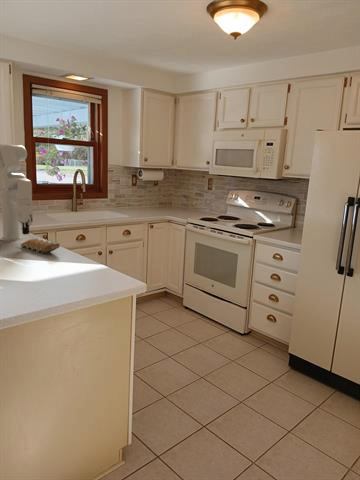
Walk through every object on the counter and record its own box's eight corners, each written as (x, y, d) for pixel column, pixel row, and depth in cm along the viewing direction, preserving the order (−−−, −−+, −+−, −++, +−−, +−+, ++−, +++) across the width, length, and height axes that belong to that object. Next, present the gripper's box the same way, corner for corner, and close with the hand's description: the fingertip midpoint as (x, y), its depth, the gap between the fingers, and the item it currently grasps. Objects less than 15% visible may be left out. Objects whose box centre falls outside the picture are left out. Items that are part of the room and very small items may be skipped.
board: (15, 247, 209) (15, 246, 209) (29, 245, 216) (29, 244, 216) (40, 255, 196) (40, 254, 195) (53, 253, 202) (53, 252, 202)
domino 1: (20, 244, 209) (29, 239, 203) (28, 242, 213) (37, 238, 207) (21, 247, 208) (30, 243, 202) (29, 246, 212) (38, 241, 206)
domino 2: (25, 245, 206) (34, 241, 200) (33, 244, 210) (43, 239, 204) (26, 249, 206) (35, 244, 200) (34, 247, 210) (43, 243, 204)
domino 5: (50, 252, 201) (60, 246, 195) (42, 253, 197) (51, 248, 191) (49, 248, 201) (58, 243, 195) (40, 250, 197) (50, 244, 191)
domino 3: (30, 247, 203) (40, 242, 197) (38, 245, 207) (48, 241, 201) (31, 250, 203) (41, 245, 197) (39, 249, 207) (49, 244, 201)
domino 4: (35, 248, 200) (45, 243, 194) (43, 247, 204) (53, 242, 198) (36, 252, 200) (46, 247, 194) (44, 250, 204) (54, 245, 198)
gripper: (11, 200, 206) (12, 232, 210) (26, 203, 198) (27, 236, 201) (23, 200, 212) (24, 231, 216) (38, 202, 204) (39, 235, 207)
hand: (25, 233), depth 209 cm, fingers closed
